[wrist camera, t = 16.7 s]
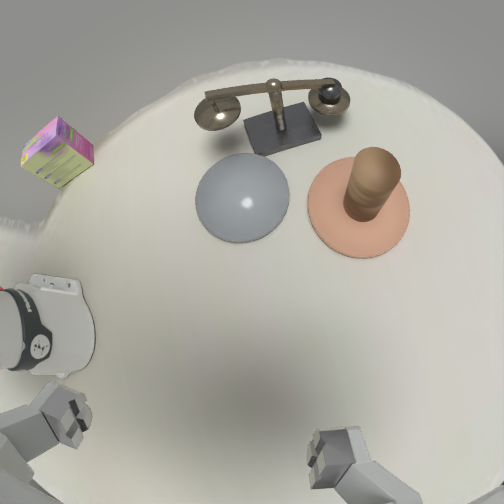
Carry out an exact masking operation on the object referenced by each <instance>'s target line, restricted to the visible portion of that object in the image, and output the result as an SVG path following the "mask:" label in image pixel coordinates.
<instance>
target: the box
mask: <svg viewBox="0 0 504 504" xmlns="http://www.w3.org/2000/svg"><path fill="white" fill-rule="evenodd" d="M93 164H94V162H93V145H92V144H91V143H90V142H89V141H87V140H86V139H85V138H84V137H83V136H82V135H80V134H79V133H78V132H77V131H76V130H75V129H73V128H72V127H71V126H70V125H68V123H66V122H65V121H64V120H63V119H62V118H60V117H59V116H57V117H56V118H55V119H54V120H52V121H51V122H50V123H49V124H48V125H47V126H46V127H44V128H43V129H42V130H41V131H40V132H39V133H37V134H36V135H35V136H34V137H33V138H32V139H31V140H30V141H29V142H28V143H27V144H25V145H24V147H23V152H22V159H21V167H22V168H23V169H25V170H27V171H28V172H30V173H32V174H33V175H35V176H37V177H39V178H40V179H42V180H44V181H46V182H47V183H49V184H51V185H53V186H54V187H56V188H58V189H60V188H61V187H62V186H63V185H65V184H66V183H67V182H69V181H70V180H71V179H73V178H74V177H76V176H77V175H78V174H80V173H81V172H83V171H84V170H86V169H87V168H89V167H90V166H92V165H93Z"/></svg>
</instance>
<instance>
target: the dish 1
mask: <svg viewBox="0 0 504 504" xmlns="http://www.w3.org/2000/svg"><path fill="white" fill-rule="evenodd" d="M195 204H196V211H197V214H198V217H199V219H200V221H201V222H202V224H203V225H204V226H205V227H206V229H208V230H209V231H210V232H211V233H212V234H213V235H215V236H216V237H218V238H220V239H222V240H225V241H228V242H233V243H246V242H251V241H255V240H258V239H260V238H262V237H264V236H266V235H267V234H269V233H270V232H272V231H273V230H274V229H275V228H276V227H277V226H278V225H279V223H280V222H281V221H282V219H283V218H284V216H285V213H286V211H287V208H288V204H289V189H288V184H287V180H286V178H285V176H284V174H283V172H282V171H281V169H280V168H279V167H278V166H277V165H276V164H275V163H274V162H273V161H271V160H269V159H268V158H266V157H263V156H260V155H257V154H250V153H242V154H235V155H232V156H229V157H226V158H224V159H222V160H220V161H218V162H217V163H216V164H214V165H213V166H212V167H211V168H210V169H209V170H208V171H207V172H206V173H205V175H204V176H203V177H202V179H201V181H200V183H199V185H198V188H197V192H196V198H195Z"/></svg>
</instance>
